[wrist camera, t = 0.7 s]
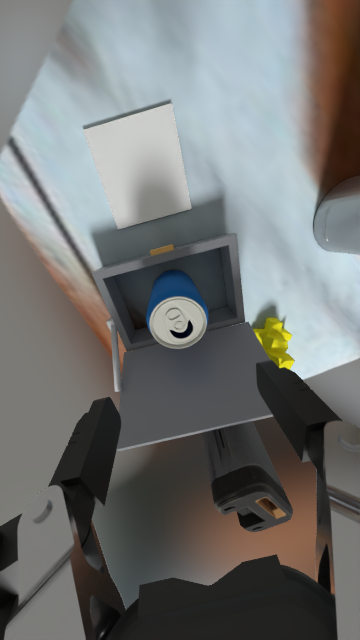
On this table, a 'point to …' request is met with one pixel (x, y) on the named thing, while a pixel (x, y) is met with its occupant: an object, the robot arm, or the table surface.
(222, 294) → the table surface
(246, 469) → the electronic device
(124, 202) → the pad
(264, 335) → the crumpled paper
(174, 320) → the beverage can
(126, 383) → the case
